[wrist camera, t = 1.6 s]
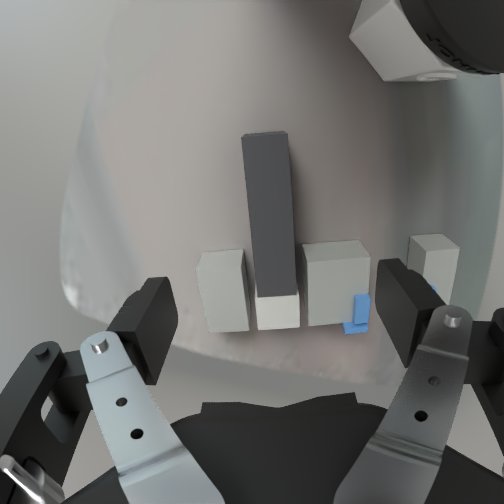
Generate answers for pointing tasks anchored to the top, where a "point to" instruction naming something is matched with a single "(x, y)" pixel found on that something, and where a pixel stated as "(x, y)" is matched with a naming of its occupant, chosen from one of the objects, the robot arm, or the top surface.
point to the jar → (431, 38)
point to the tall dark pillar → (271, 229)
